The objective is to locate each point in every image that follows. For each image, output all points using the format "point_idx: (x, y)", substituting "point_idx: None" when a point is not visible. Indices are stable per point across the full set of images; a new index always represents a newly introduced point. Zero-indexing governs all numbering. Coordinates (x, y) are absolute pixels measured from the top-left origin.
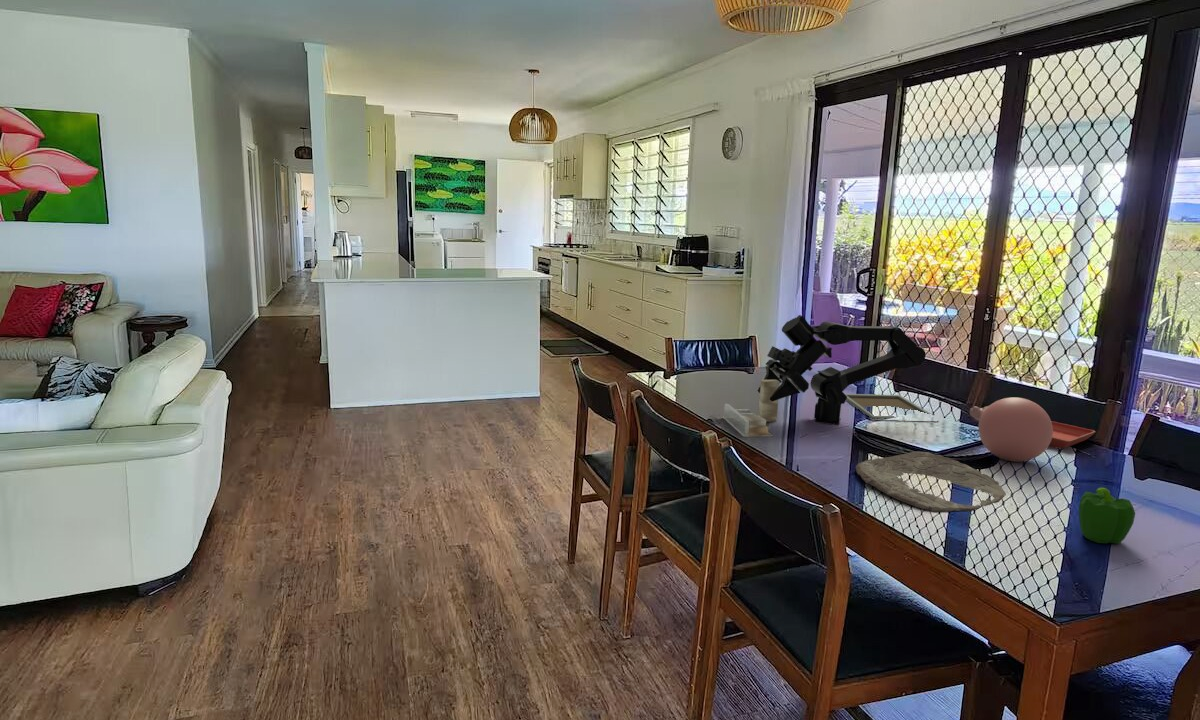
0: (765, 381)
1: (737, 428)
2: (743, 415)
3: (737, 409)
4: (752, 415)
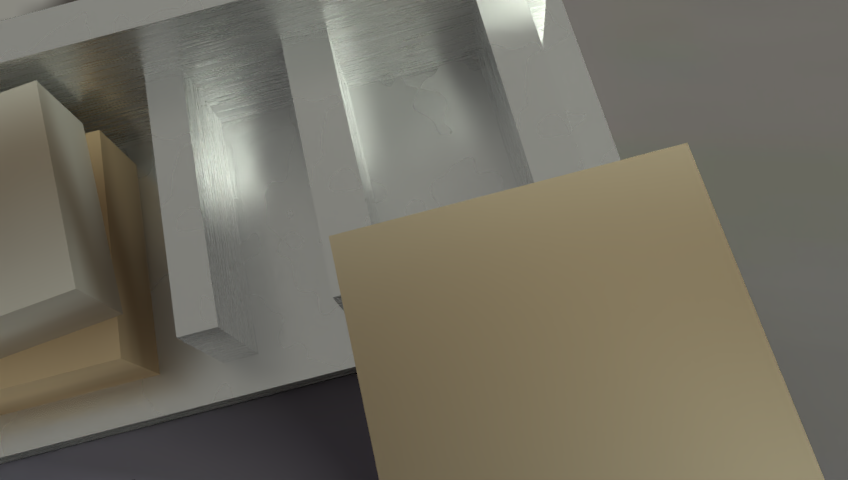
0: (378, 296)
1: None
2: (36, 103)
3: (546, 78)
4: (36, 217)
